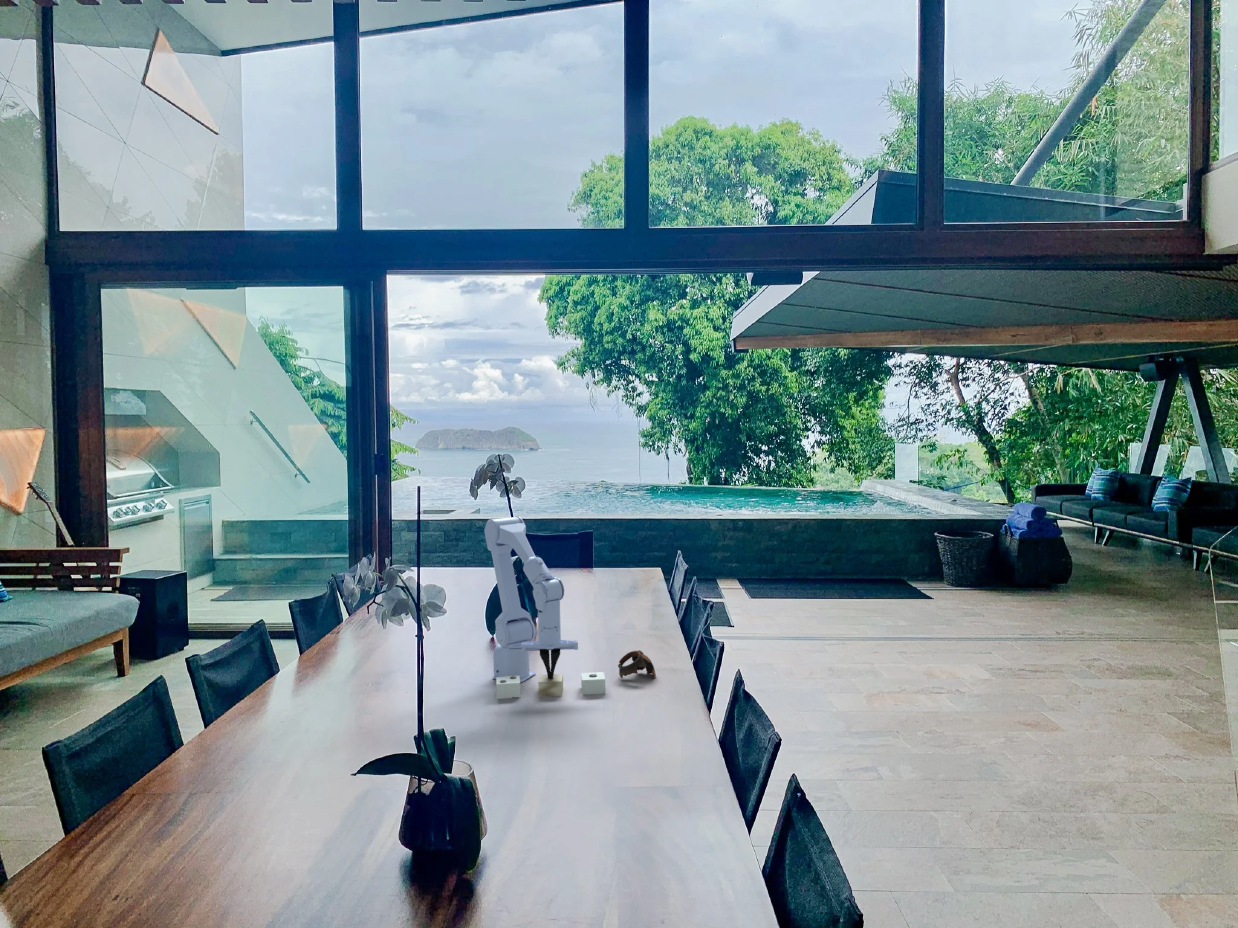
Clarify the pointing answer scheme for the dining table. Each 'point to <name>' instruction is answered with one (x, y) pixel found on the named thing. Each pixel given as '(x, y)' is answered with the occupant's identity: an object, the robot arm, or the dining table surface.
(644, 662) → the rusty brown arched frame
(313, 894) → the dining table surface
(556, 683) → the maple block
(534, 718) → the dining table surface
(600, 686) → the one-dot block
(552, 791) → the dining table surface
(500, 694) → the two-dot block
